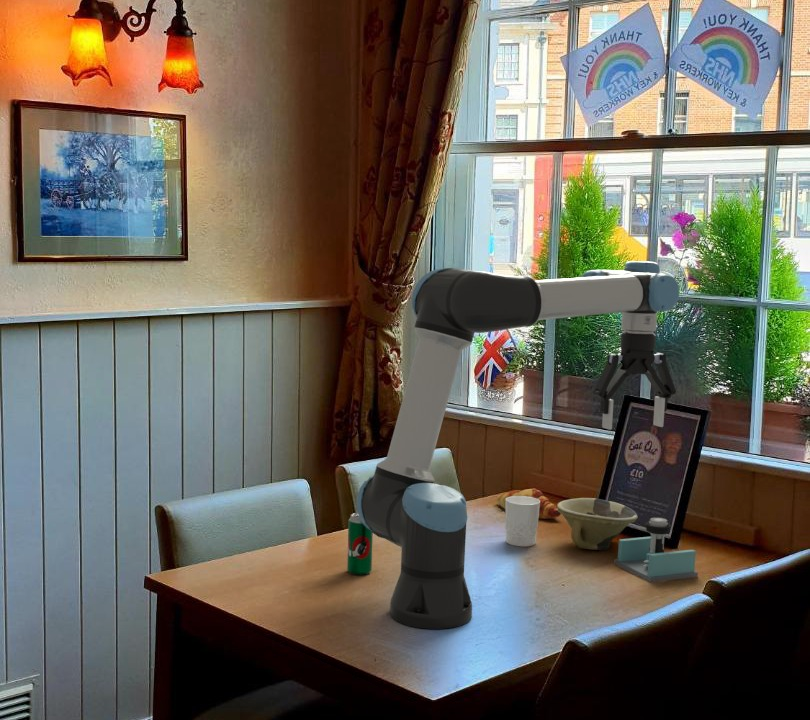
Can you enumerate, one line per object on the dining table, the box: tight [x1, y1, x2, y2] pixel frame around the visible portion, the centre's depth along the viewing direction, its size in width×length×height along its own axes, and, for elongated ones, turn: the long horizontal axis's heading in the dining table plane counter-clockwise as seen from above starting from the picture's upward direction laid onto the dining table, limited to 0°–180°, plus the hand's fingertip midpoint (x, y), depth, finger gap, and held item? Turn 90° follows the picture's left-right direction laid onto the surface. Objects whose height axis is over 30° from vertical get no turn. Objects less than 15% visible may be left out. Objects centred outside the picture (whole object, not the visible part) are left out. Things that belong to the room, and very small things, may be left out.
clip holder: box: [613, 535, 699, 583], centre depth 226 cm, size 12×13×6 cm
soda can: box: [346, 512, 374, 576], centre depth 218 cm, size 5×5×12 cm
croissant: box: [496, 488, 562, 520], centre depth 270 cm, size 21×10×8 cm, turn 43°
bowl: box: [556, 497, 639, 551], centre depth 242 cm, size 18×18×10 cm
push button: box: [643, 517, 672, 567], centre depth 225 cm, size 7×5×10 cm
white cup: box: [504, 496, 540, 548], centre depth 243 cm, size 8×8×10 cm
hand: (632, 427), depth 235 cm, fingers open, 13 cm apart
